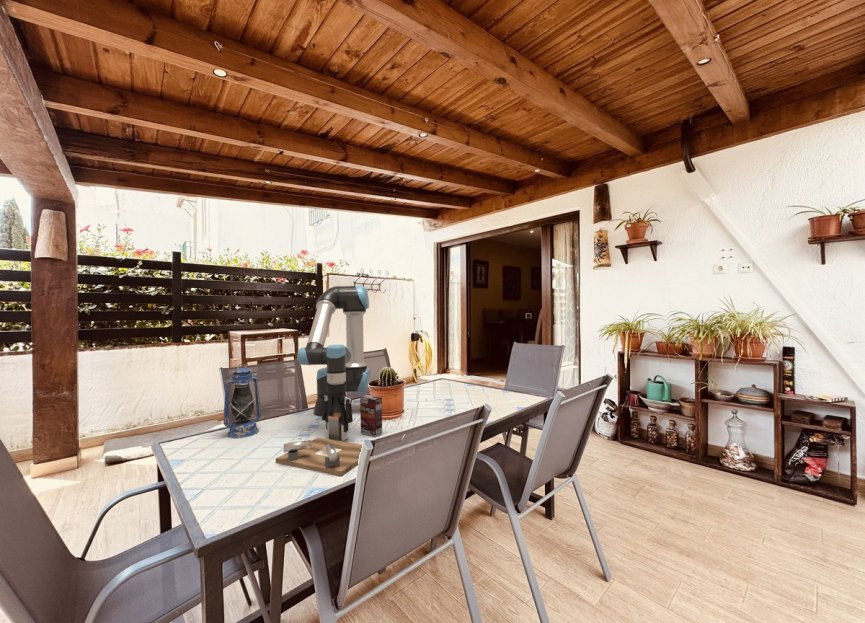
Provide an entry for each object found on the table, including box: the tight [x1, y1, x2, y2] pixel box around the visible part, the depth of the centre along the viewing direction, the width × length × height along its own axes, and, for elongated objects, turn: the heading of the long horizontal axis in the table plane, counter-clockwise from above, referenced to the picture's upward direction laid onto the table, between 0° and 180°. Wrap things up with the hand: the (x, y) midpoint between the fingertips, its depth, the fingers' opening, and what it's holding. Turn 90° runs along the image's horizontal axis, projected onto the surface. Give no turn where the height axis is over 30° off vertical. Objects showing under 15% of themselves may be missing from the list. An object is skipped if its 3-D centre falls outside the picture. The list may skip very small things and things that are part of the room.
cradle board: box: [275, 437, 363, 477], centre depth 136 cm, size 22×28×2 cm
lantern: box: [223, 363, 262, 439], centre depth 162 cm, size 15×12×30 cm
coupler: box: [328, 413, 343, 441], centre depth 153 cm, size 5×5×10 cm
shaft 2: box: [325, 443, 340, 469], centre depth 126 cm, size 9×4×5 cm, turn 22°
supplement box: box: [359, 394, 383, 438], centre depth 159 cm, size 9×5×16 cm, turn 58°
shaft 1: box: [283, 439, 312, 461], centre depth 132 cm, size 9×4×5 cm, turn 112°
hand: (337, 438), depth 153 cm, fingers open, 6 cm apart
